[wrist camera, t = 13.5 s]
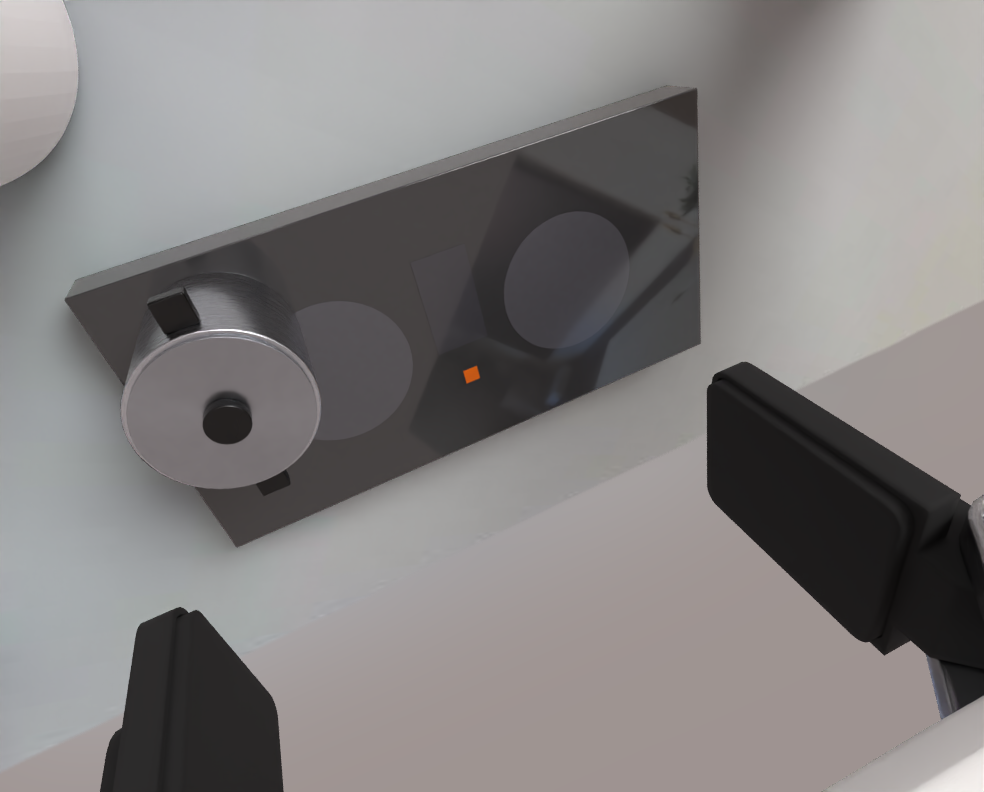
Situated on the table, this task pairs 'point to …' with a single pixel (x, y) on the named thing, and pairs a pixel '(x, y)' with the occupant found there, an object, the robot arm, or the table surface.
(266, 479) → the pot
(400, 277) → the hot plate
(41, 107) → the coffeepot
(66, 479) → the table surface
